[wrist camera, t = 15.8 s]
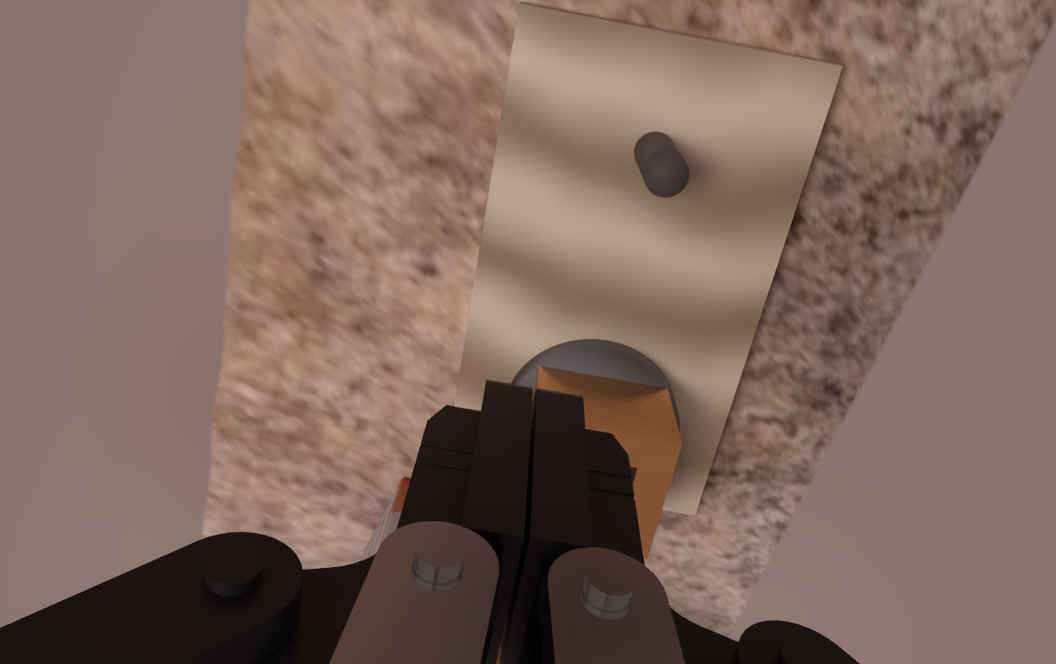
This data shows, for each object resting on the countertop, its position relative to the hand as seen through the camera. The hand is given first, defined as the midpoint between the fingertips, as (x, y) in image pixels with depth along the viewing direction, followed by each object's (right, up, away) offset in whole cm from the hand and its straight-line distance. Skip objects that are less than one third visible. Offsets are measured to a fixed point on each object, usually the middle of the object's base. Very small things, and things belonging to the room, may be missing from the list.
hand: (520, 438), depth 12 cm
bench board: (+5, +4, +28) cm, 28 cm away
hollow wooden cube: (+3, -3, +28) cm, 28 cm away
